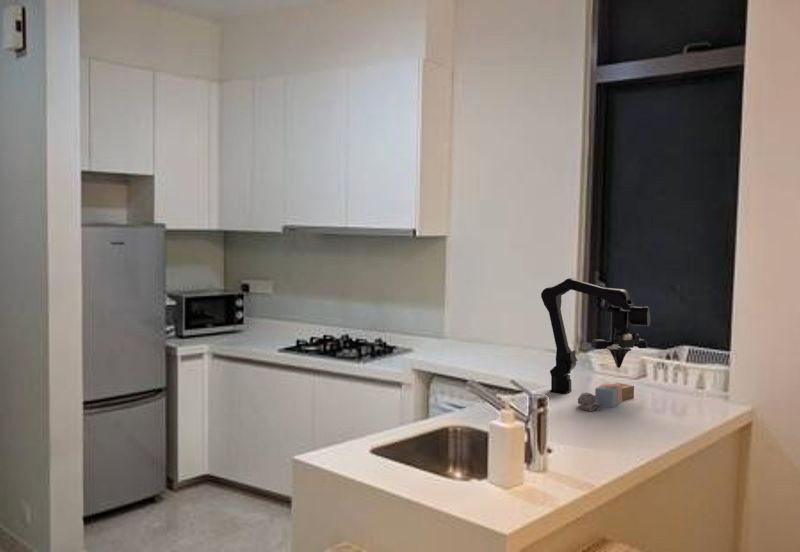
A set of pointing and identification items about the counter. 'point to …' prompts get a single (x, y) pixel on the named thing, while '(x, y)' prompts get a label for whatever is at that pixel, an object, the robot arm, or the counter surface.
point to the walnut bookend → (627, 391)
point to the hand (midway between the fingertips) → (618, 367)
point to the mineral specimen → (588, 402)
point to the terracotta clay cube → (619, 390)
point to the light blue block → (606, 396)
